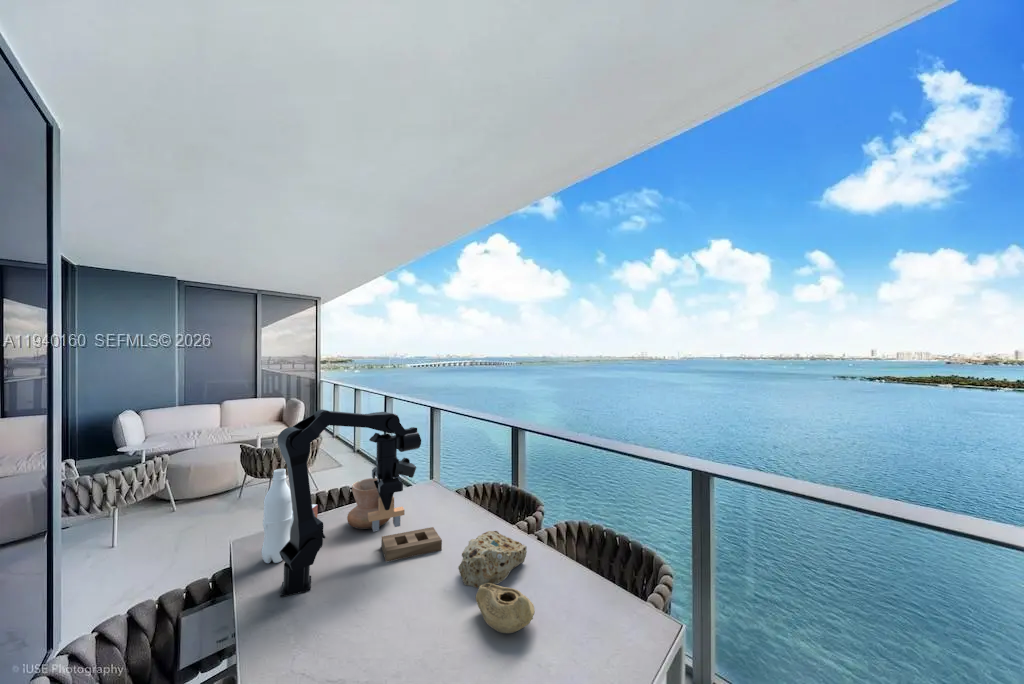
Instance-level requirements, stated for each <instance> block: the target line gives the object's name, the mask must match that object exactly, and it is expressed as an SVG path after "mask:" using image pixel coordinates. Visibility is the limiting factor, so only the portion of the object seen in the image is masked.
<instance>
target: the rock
mask: <svg viewBox="0 0 1024 684" xmlns="http://www.w3.org/2000/svg"><path fill="white" fill-rule="evenodd" d="M527 552H528V551H527V545H525V544H522V543H521V542H520V541H517V540H514V539H512V538H511V537H507V536H506V535H504V534H501V533H500V532H499V531H498V530H488V531H486V532H483V533H482V534H479V535H478V536H477V537H476V538H475V539H474V538H472V539H470V540H469V541H468V545H467V546H465V547H464V550H463V551H462V553H461V557H462V559H461V562H460V564H459V565H458V567H457V569H458V572H459V574H460V577H461V578H462V582H463V584H464V586H465V587H473V588H475V589H476V588H477V589H479V587H480V586H481V585H483V584H488V583H491V584H495V585H499V584H500V583H501V582H503V581H505V579H506V578H508V576H509V575H510V572H511V571H512V570H513V569H516V567H518V566H519V565H521V564H523V563H525V560H526V557H527Z"/></svg>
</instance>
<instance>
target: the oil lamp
mask: <svg viewBox="0 0 1024 684" xmlns="http://www.w3.org/2000/svg"><path fill="white" fill-rule="evenodd" d="M477 589H478V590H477V592H476V595H475V602H476V604H477V607H478V608H479V610H480V613H481V615H482V617H483V620H484V622H485V623H486V624H487V625H488V626H489V627H491V628H492V629H493V630H494V631H497V632H498V633H499V634H500V633H501V634H512V633H516V632H518V631H519V630H522V629H523V628H525V627H526V626H528V625H529V624H530V623H531V622H532V620H533V619H534V615H535V611H536V610H535V605H534V603H533V602H532V601H531V600H530V599H529V598H528V597H527V596H526V595H524V594H523V593H522V592H521V591H520V590H518V589H516V588H512V587H506V586H505V587H504V586H501V585H499V584H491V583H488V584H483V585H481V586H480V587H478V588H477Z"/></svg>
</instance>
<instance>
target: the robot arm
mask: <svg viewBox="0 0 1024 684" xmlns="http://www.w3.org/2000/svg"><path fill="white" fill-rule="evenodd" d="M329 426H335V427H351V428H352V427H353V428H365V429H367V428H368V429H371V430H376V431H379V432H383V433H384V434H380V433H378V432H374V434H373V435H372V436H371V437H370V438H369V442H372V443H376V457H375V463H376V466H374V468H373V469H371V478H373V479H374V478H377V480H376V481H374V483H375V486H376V488H377V491H378V493H379V496H380V498H381V500H382V503H383V505H384V508H385V510H389V509H390V505H391V501H392V497H394V494H395V493H399V492H403V491H404V483H403V482H402V480H401V479H400V478H399V477H400V475H401V476H404V477H409V478H410V479H412V478H414V476H415V473H416V470H417V466H416V465H415V464H414V463H412V462H411V461H410V459H409V458H408V457H403V458H402V459H401V460H399V458H398V456H397V451H399V452H400V453H403V452H408V451H413V450H417V449H419V448H420V447H421V446H422V445H421V444H422V438H421V436H420V435H421V434H420V433H419V431H418V427H415V426H412V427H409V428H404V426H403V425H402V424H401V421H400V417H399V416H398V414H396V413H393V412H386V411H377V412H371V413H358V412H357V413H356V412H345V411H344V412H343V411H335V410H327V409H323V408H322V409H318V410H316V411H315V412H314V413H312V414H311V415H309V416H307V417H306V418H304V419H302V420H300V421H298V422H296V424H294V425H293V426H289V427H286V428H284V429H283V430H281V432H280V433H279V434H278V436H277V444H278V448H279V450H280V453H281V455H282V458H283V459H284V462H285V464H286V466H287V474H288V475H287V476H288V483H289V484H288V485H289V488H290V492H291V500H292V510H293V516H294V520H293V524H292V527H291V534H290V540H289V541H288V543H287V544H286V545H285V546H284V547H283V548H282V550H281V551H280V552H279V553H280V555H281V558H282V559H283V560H282V561H284V563H283V581H282V584H281V589H280V594H279V596H280V598H281V597H283V598H284V597H287V596H290V595H291V596H292V595H296V594H300V593H303V592H304V593H305V592H309V591H311V589H312V588H311V587H312V575H310V574H311V566H312V565H314V562H315V561H316V557H317V554H318V552H319V551H320V550H321V548H323V545H324V539H326V536H325V534H324V522H323V521H322V520H320V519H319V518H318V517H317V518H316V517H315V516H313V509H312V503H313V502H312V494H311V487H310V486H311V485H310V477H309V470H308V469H309V468H308V461H309V457H310V453H311V443H312V442H313V441H314V440H316V439H318V437H319V436H320V435H321V434H322V433H323V431H324V430H325V429H326V428H328V427H329ZM391 434H394V435H391Z"/></svg>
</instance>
